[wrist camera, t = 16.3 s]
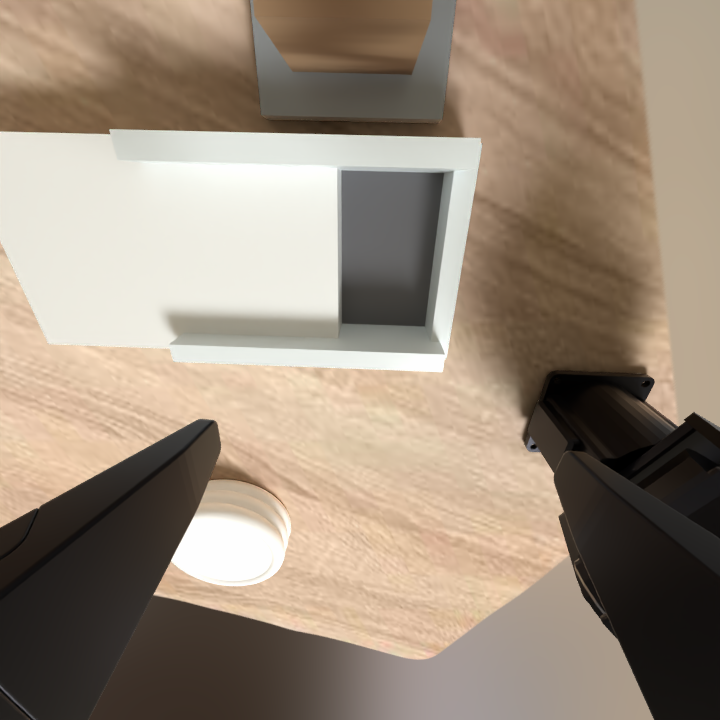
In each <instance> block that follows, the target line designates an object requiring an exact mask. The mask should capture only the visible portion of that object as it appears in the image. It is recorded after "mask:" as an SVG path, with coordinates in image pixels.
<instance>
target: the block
mask: <svg viewBox="0 0 720 720" xmlns="http://www.w3.org/2000/svg"><path fill="white" fill-rule="evenodd" d="M432 2H433V0H253V6H254V16H255V18H256V19H257V20H258V22H259V23H260V25H261V26H262V28H263V29H264V31H265V32H266V34H267V35H268V37H269V38H270V39H271V41H272V42H273V44H274V45H275V47H276V48H277V50H278V51H279V53H280V54H281V56H282V57H283V58H284V60H285V61H286V63H287V64H288V66H289V67H290V69H291V70H292V72H323V73H362V74H401V75H412V73H413V70H414V67H415V64H416V61H417V58H418V55H419V53H420V50H421V47H422V44H423V41H424V38H425V35H426V32H427V30H428V27H429V24H430V21H431V12H432Z"/></svg>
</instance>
